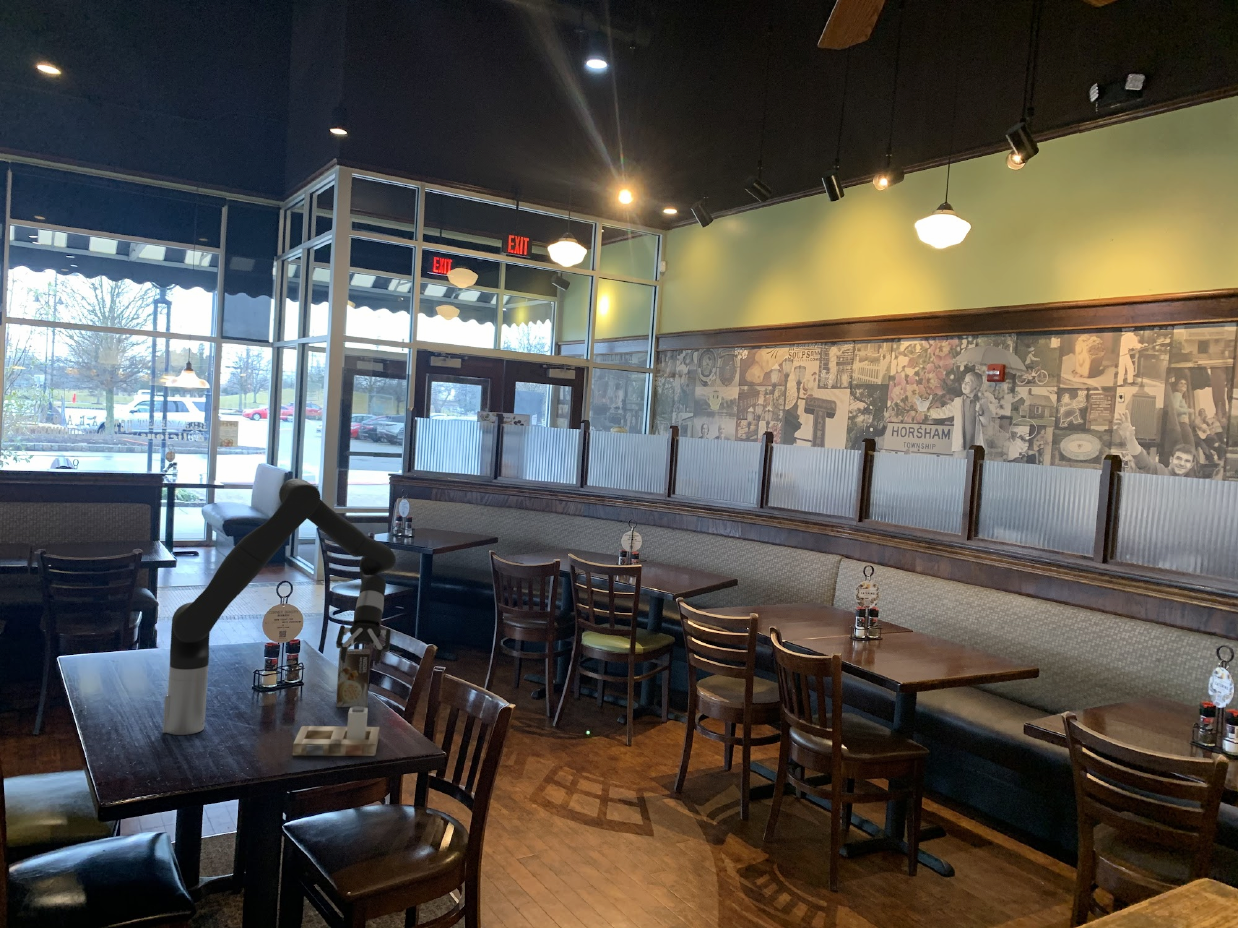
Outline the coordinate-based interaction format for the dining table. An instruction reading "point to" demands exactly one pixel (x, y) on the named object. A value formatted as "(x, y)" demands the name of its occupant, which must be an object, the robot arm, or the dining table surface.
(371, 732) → the socket board
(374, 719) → the dining table surface
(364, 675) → the coffee box
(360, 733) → the white tall rectangular block
